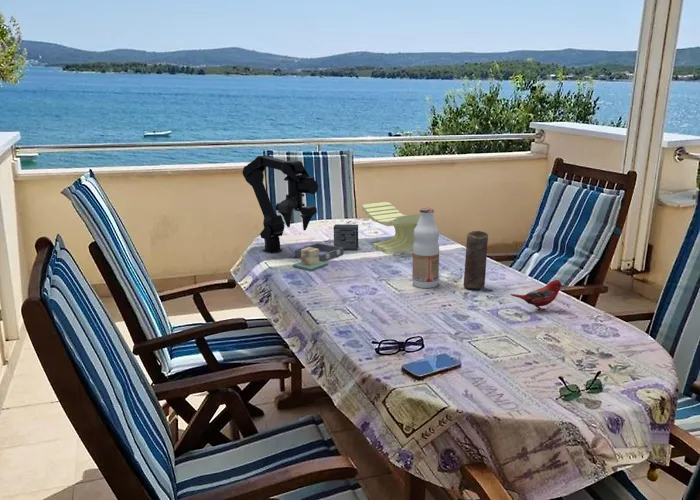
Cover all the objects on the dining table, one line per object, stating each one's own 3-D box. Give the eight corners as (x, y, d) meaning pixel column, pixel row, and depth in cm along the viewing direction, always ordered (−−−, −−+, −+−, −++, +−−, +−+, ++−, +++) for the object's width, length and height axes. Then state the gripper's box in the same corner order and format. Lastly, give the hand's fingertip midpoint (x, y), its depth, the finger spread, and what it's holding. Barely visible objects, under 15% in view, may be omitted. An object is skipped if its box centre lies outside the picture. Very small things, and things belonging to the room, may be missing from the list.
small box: (358, 246, 272) (358, 223, 269) (357, 250, 265) (357, 227, 263) (335, 246, 273) (335, 223, 270) (333, 250, 266) (333, 227, 264)
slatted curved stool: (429, 253, 259) (430, 212, 255) (397, 258, 252) (398, 216, 248) (392, 238, 285) (392, 201, 280) (362, 242, 278) (362, 204, 273)
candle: (487, 286, 217) (490, 231, 212) (482, 292, 211) (485, 236, 206) (466, 283, 221) (468, 229, 215) (461, 289, 214) (463, 234, 209)
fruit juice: (414, 289, 215) (415, 211, 208) (410, 280, 224) (411, 206, 217) (440, 288, 216) (442, 211, 208) (435, 280, 225) (438, 205, 217)
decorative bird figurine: (563, 310, 193) (566, 280, 191) (511, 314, 191) (512, 284, 188) (559, 307, 196) (561, 278, 194) (507, 311, 193) (509, 281, 191)
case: (294, 256, 257) (294, 250, 256) (317, 249, 268) (317, 242, 267) (322, 262, 248) (322, 255, 247) (344, 254, 259) (344, 248, 258)
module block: (301, 264, 243) (301, 249, 242) (309, 261, 247) (309, 246, 245) (310, 266, 240) (310, 251, 239) (319, 263, 244) (318, 248, 242)
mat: (292, 266, 243) (292, 264, 243) (309, 261, 250) (309, 258, 250) (311, 271, 237) (311, 268, 237) (327, 265, 245) (327, 262, 244)
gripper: (265, 192, 250) (267, 229, 254) (298, 197, 239) (299, 235, 243) (284, 188, 258) (285, 224, 262) (317, 193, 247) (318, 230, 251)
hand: (296, 228), depth 255 cm, fingers open, 9 cm apart
